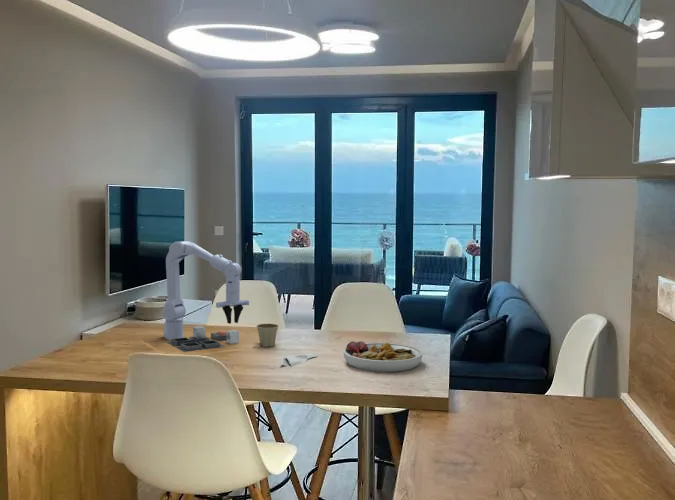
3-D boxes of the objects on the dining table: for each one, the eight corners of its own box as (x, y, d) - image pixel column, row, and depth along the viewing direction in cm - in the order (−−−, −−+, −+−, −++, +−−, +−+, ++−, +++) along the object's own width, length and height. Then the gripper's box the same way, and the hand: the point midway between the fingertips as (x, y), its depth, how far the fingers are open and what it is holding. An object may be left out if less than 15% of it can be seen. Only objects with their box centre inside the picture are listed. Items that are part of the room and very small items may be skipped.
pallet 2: (175, 349, 259) (175, 343, 259) (215, 344, 269) (215, 338, 269) (184, 354, 251) (184, 348, 251) (225, 349, 261) (225, 343, 261)
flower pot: (277, 348, 264) (277, 327, 264) (254, 347, 264) (254, 327, 264) (279, 343, 274) (279, 323, 273) (258, 343, 274) (258, 323, 273)
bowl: (426, 358, 252) (427, 338, 251) (415, 377, 223) (416, 355, 222) (354, 352, 260) (354, 333, 259) (334, 370, 231) (334, 349, 230)
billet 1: (193, 340, 272) (193, 326, 271) (201, 339, 274) (201, 326, 274) (196, 342, 269) (196, 328, 268) (205, 341, 271) (205, 327, 270)
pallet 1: (165, 344, 268) (165, 338, 268) (205, 339, 278) (205, 334, 278) (174, 349, 260) (174, 343, 260) (214, 344, 270) (214, 338, 270)
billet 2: (226, 344, 270) (226, 330, 270) (234, 343, 272) (234, 329, 272) (230, 346, 267) (230, 332, 266) (238, 345, 269) (239, 331, 269)
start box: (210, 339, 279) (210, 333, 279) (227, 337, 283) (227, 331, 283) (218, 343, 272) (218, 336, 272) (235, 341, 277) (235, 334, 277)
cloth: (307, 353, 259) (307, 347, 259) (332, 359, 250) (332, 353, 250) (260, 364, 239) (260, 358, 239) (285, 371, 230) (285, 365, 230)
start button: (216, 336, 278) (216, 331, 278) (225, 335, 280) (225, 330, 280) (220, 338, 275) (220, 332, 275) (228, 337, 277) (228, 331, 277)
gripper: (220, 293, 261) (220, 326, 261) (252, 291, 269) (252, 322, 270) (213, 291, 266) (213, 323, 267) (244, 289, 275) (244, 320, 276)
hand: (232, 323), depth 269 cm, fingers open, 3 cm apart
